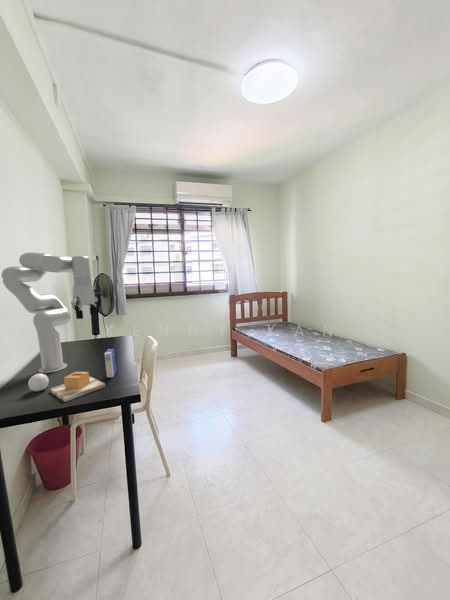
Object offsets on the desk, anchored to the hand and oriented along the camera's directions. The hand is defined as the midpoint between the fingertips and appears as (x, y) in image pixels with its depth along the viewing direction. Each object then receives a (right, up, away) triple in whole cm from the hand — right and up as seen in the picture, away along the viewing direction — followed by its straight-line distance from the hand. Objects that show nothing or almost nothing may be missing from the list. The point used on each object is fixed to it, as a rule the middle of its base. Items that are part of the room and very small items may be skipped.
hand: (86, 316), depth 131 cm
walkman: (+13, -28, -1) cm, 31 cm away
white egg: (-12, -31, -16) cm, 37 cm away
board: (+5, -30, -16) cm, 35 cm away
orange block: (+5, -29, -17) cm, 33 cm away
